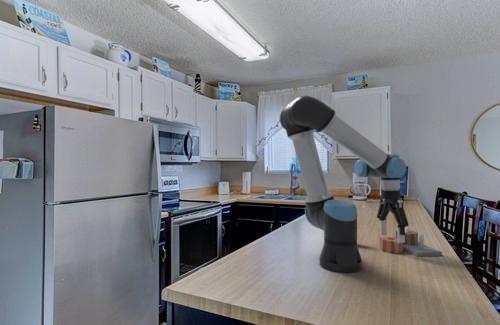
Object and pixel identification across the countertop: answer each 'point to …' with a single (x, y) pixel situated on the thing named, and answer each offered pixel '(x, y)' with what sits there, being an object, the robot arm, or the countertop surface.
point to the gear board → (417, 245)
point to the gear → (390, 245)
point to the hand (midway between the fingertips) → (392, 238)
